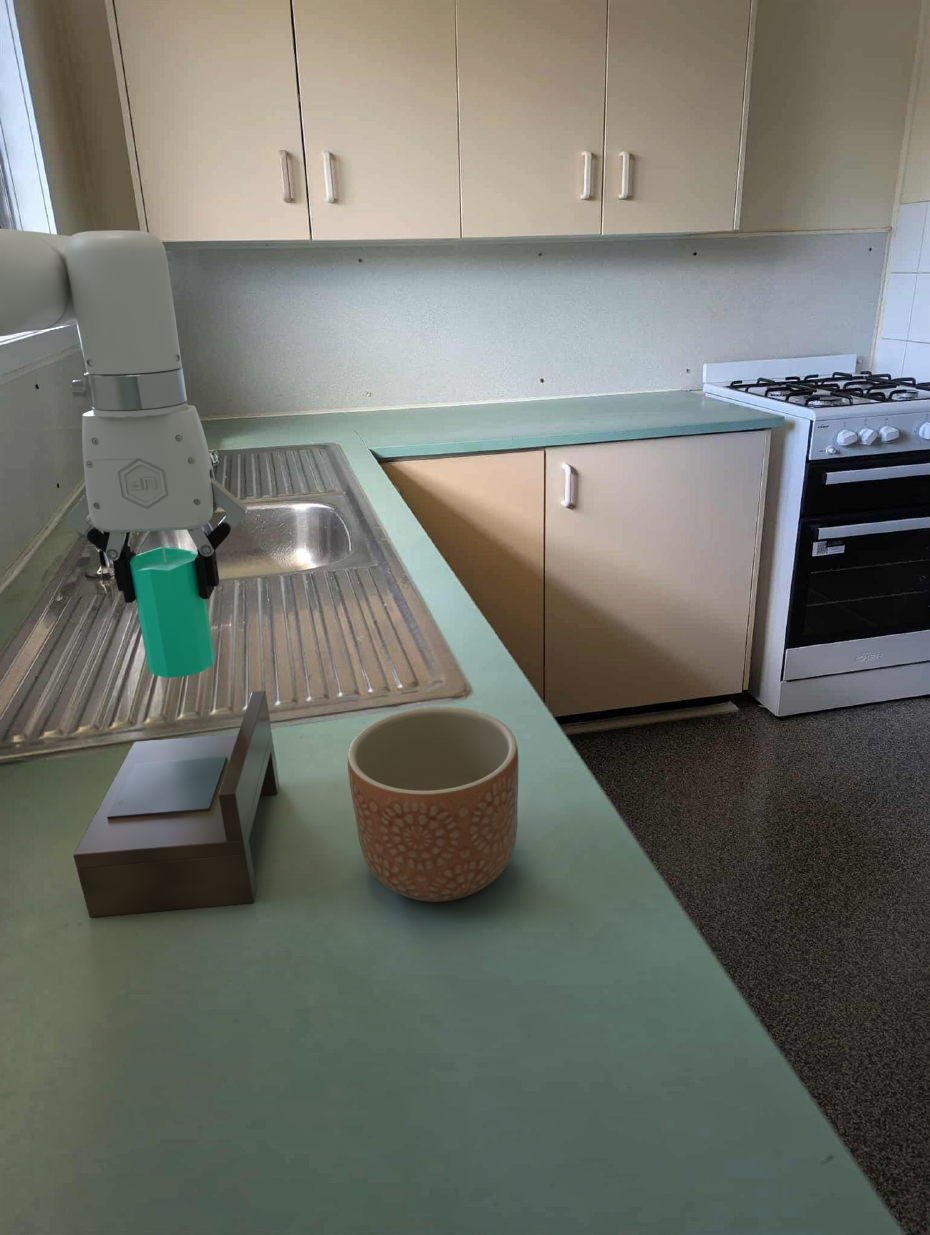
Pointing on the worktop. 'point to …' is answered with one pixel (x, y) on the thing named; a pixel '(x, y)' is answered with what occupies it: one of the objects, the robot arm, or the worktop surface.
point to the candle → (171, 612)
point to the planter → (435, 800)
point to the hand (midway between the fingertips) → (170, 594)
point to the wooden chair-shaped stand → (180, 822)
